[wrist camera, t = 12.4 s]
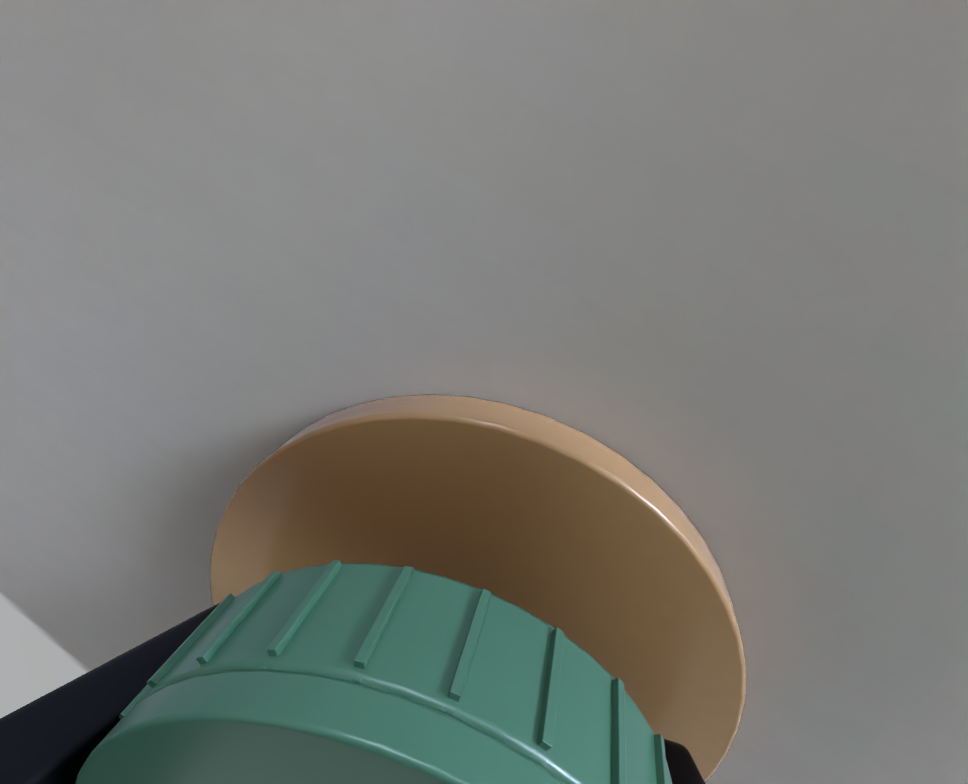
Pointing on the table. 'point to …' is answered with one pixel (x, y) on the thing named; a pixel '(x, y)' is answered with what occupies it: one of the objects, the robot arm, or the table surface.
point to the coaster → (507, 541)
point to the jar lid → (377, 693)
